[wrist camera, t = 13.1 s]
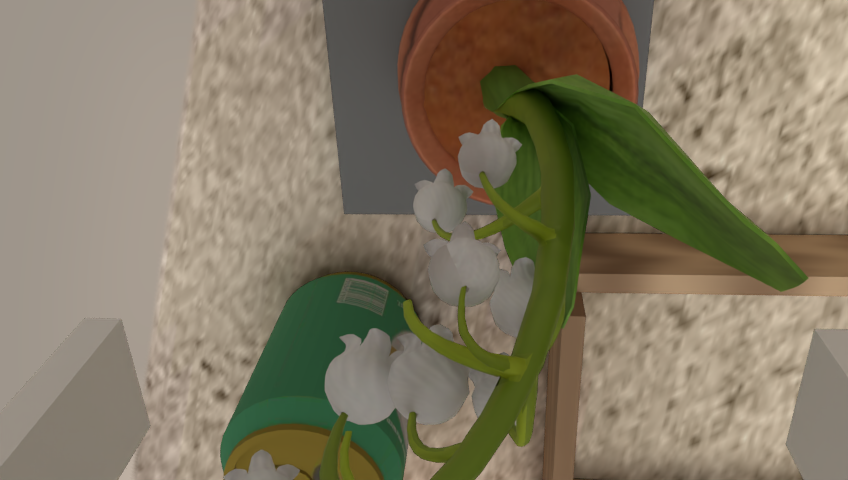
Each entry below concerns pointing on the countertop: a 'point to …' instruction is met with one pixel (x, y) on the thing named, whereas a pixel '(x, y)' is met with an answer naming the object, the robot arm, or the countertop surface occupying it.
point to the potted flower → (518, 212)
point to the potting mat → (400, 106)
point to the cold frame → (667, 274)
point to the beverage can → (318, 383)
